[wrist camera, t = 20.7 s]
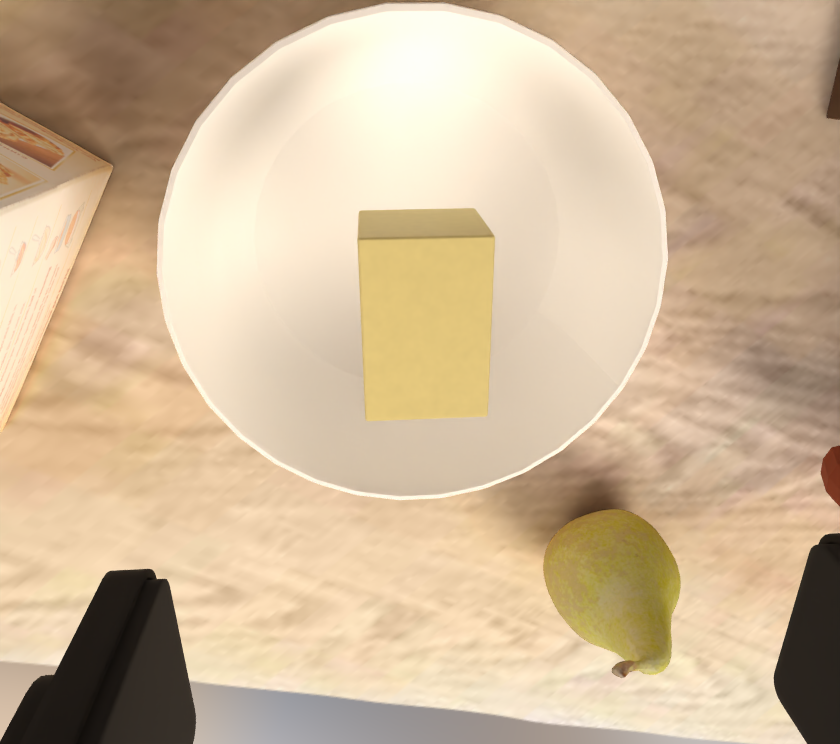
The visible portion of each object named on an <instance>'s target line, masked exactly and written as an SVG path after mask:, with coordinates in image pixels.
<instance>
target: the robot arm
mask: <svg viewBox="0 0 840 744" xmlns="http://www.w3.org/2000/svg"><path fill="white" fill-rule="evenodd" d="M774 686H775V690H776V693H777V696H778V698H779V700H780V702H781V703H782V705H783V707H784V708H785V710H786V711H787V713H788V714H789V716H790V718H791V719H792V721H793V722H794V724H795V725H796V727H797V728H798V730H799V732H800V733H801V735H802V736H803V738H804V739H805V741H806V742H807V744H840V533H837V534H827V535H825V536H824V537H822V538H821V540H820V542H819V544H818V545H815V546H813V547H812V548H811V550H810V553H809V556H808V559H807V563H806V566H805V570H804V573H803V577H802V580H801V583H800V587H799V590H798V594H797V597H796V601H795V604H794V607H793V611H792V614H791V618H790V621H789V625H788V628H787V632H786V635H785V638H784V642H783V645H782V649H781V652H780V656H779V659H778V662H777V666H776V669H775V673H774ZM195 725H196V714H195V708H194V703H193V698H192V693H191V688H190V683H189V678H188V673H187V668H186V663H185V659H184V654H183V649H182V644H181V639H180V634H179V629H178V624H177V619H176V614H175V610H174V605H173V600H172V595H171V590H170V586H169V582H168V581H167V579H157V578H156V575H155V573H154V571H153V570H152V569H139V570H119V571H109V572H108V573H106V575H105V576H104V578H103V579H102V581H101V583H100V585H99V587H98V589H97V591H96V593H95V595H94V597H93V599H92V601H91V603H90V605H89V607H88V609H87V611H86V613H85V615H84V617H83V619H82V621H81V623H80V625H79V627H78V629H77V631H76V633H75V635H74V637H73V639H72V641H71V643H70V645H69V647H68V649H67V651H66V653H65V655H64V657H63V659H62V661H61V663H60V665H59V667H58V668H57V670H56V673H55V674H54V675H45V676H41V677H39V678H38V679H37V680H36V681H34V682H33V684H32V685H31V687H30V688H29V690H28V691H27V693H26V694H25V696H24V698H23V700H22V702H21V703H20V705H19V707H18V709H17V711H16V713H15V715H14V717H13V718H12V720H11V722H10V724H9V726H8V728H7V730H6V732H5V734H4V736H3V737H2V739H1V741H0V744H193V741H194V736H195V727H196V726H195Z"/></svg>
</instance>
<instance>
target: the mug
mask: <svg viewBox="0 0 840 744" xmlns="http://www.w3.org/2000/svg"><path fill="white" fill-rule="evenodd" d="M821 476H822V479H823V482H824V486H825V489H826V492H827V493H828V494H829V495H830V497H831V498H832V499H833V500H834V501H835V502H836V503H837V504H838V505H839V506H840V446H836V447H832V448H831V449H830V450H829V452H828V453H827V454H826V456H825V457H824V458H823V462H822V468H821Z"/></svg>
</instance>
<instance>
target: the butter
mask: <svg viewBox="0 0 840 744" xmlns="http://www.w3.org/2000/svg"><path fill="white" fill-rule="evenodd" d="M357 243H358V266H359V289H360V311H361V334H362V357H363V379H364V402H365V419H366V421H386V420H412V419H437V418H462V417H486V416H487V415H488V400H489V376H490V351H491V327H492V302H493V278H494V253H495V236H494V234H493V233H492V231H491V230H490V229H489V227H488V226H487V224H486V223H485V222H484V220H483V219H482V218H481V216H480V215H479V213H478V212H477V211H476V209H474V208H453V209H404V210H361V211H359V215H358V238H357Z"/></svg>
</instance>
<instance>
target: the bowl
mask: <svg viewBox="0 0 840 744" xmlns="http://www.w3.org/2000/svg"><path fill="white" fill-rule="evenodd" d="M453 208H474V209H476V211H477V212H478V213H479V215H480V216H481V218H482V219H483V220H484V222H485V223H486V224H487V226H488V227H489V229H490V230H491V231H492V233H493V234H494V236H495V253H494V278H493V302H492V327H491V351H490V376H489V400H488V415H487V416H486V417H462V418H437V419H412V420H386V421H366V419H365V402H364V379H363V357H362V334H361V311H360V289H359V266H358V243H357V238H358V215H359V211H361V210H404V209H453ZM667 262H668V249H667V230H666V210H665V206H664V202H663V199H662V195H661V191H660V187H659V183H658V180H657V176H656V172H655V168H654V164H653V161H652V159H651V157H650V155H649V153H648V151H647V149H646V147H645V145H644V143H643V141H642V139H641V137H640V135H639V133H638V131H637V129H636V127H635V126H634V124H633V122H632V120H631V118H630V116H629V114H628V113H627V112H626V110H625V109H624V108H623V107H622V106H621V104H620V103H619V102H618V101H617V99H616V98H615V97H614V96H613V95H612V93H611V92H610V91H609V90H608V88H607V87H606V86H605V85H604V84H603V82H602V81H601V80H600V79H599V77H598V76H597V75H596V74H595V73H594V72H593V71H592V70H590V69H589V68H588V67H587V66H585V65H584V64H583V63H582V62H580V61H579V60H578V59H576V58H575V57H574V56H573V55H571V54H570V53H569V52H568V51H566V50H565V49H564V48H562V47H561V46H560V45H559V44H557V43H556V42H555V41H553V40H552V39H551V38H548V37H546V36H544V35H542V34H540V33H538V32H536V31H534V30H532V29H529V28H527V27H525V26H523V25H521V24H519V23H517V22H515V21H513V20H510V19H508V18H506V17H504V16H502V15H499V14H495V13H490V12H486V11H481V10H477V9H472V8H468V7H463V6H459V5H454V4H450V3H445V2H407V3H382V4H378V5H373V6H369V7H365V8H360V9H356V10H352V11H347V12H343V13H339V14H334V15H330V16H327V17H325V18H323V19H321V20H319V21H317V22H315V23H313V24H311V25H309V26H306V27H304V28H302V29H300V30H298V31H296V32H294V33H292V34H290V35H288V36H286V37H284V38H282V39H280V40H277V41H276V42H274V43H273V44H272V45H271V46H269V47H268V48H267V49H266V50H264V51H263V52H262V53H260V54H259V55H258V56H257V57H255V58H254V59H253V60H252V61H250V62H249V63H248V64H247V65H245V66H244V67H243V68H242V69H240V70H239V71H238V72H237V73H235V74H234V75H233V76H231V78H230V79H229V80H228V81H227V82H226V84H225V85H224V86H223V87H222V89H221V90H220V91H219V92H218V94H217V95H216V96H215V97H214V99H213V100H212V101H211V102H210V103H209V105H208V106H207V107H206V108H205V110H204V111H203V112H202V113H201V115H200V116H199V117H198V118H197V120H196V121H195V123H194V125H193V127H192V129H191V131H190V133H189V135H188V137H187V139H186V141H185V143H184V145H183V147H182V149H181V151H180V153H179V155H178V157H177V159H176V161H175V163H174V165H173V167H172V169H171V173H170V177H169V181H168V185H167V189H166V193H165V197H164V201H163V205H162V209H161V213H160V217H159V221H158V248H157V278H158V283H159V289H160V295H161V300H162V306H163V312H164V318H165V322H166V325H167V327H168V330H169V332H170V335H171V337H172V340H173V342H174V345H175V347H176V350H177V353H178V355H179V358H180V360H181V363H182V365H183V367H184V368H185V370H186V372H187V373H188V375H189V376H190V378H191V379H192V381H193V382H194V384H195V386H196V387H197V389H198V390H199V392H200V393H201V395H202V396H203V398H204V400H205V401H206V403H207V404H208V405H209V406H210V408H211V409H212V410H213V411H214V412H215V413H216V414H217V415H218V416H219V417H220V418H221V419H222V420H223V421H224V422H225V423H226V424H227V425H228V426H229V428H230V429H231V430H232V431H233V432H234V433H235V434H236V435H237V436H238V437H239V438H240V439H242V440H243V441H244V442H246V443H247V444H249V445H250V446H251V447H253V448H254V449H255V450H257V451H258V452H260V453H261V454H262V455H264V456H265V457H266V458H268V459H269V460H271V461H272V462H273V463H275V464H277V465H279V466H281V467H283V468H285V469H287V470H289V471H291V472H293V473H295V474H297V475H299V476H301V477H303V478H305V479H307V480H309V481H312V482H314V483H317V484H320V485H323V486H327V487H330V488H334V489H337V490H341V491H344V492H348V493H351V494H354V495H361V496H369V497H378V498H387V499H395V500H407V499H428V498H443V497H448V496H453V495H457V494H462V493H467V492H471V491H476V490H481V489H485V488H487V487H490V486H492V485H495V484H497V483H500V482H502V481H505V480H508V479H510V478H513V477H515V476H518V475H520V474H523V473H525V472H527V471H528V470H530V469H532V468H533V467H535V466H537V465H538V464H540V463H542V462H543V461H545V460H547V459H548V458H550V457H552V456H553V455H555V454H557V453H559V452H560V451H562V450H563V449H564V448H565V447H566V446H568V445H569V444H570V443H571V442H572V441H573V440H575V439H576V438H577V437H578V436H579V435H581V434H582V433H583V432H584V431H585V430H586V429H588V428H589V427H590V426H591V425H592V424H593V423H595V422H596V420H597V419H598V418H599V417H600V416H601V414H602V413H603V412H604V411H605V410H606V408H607V407H608V406H609V405H610V404H611V402H612V401H613V400H614V399H615V398H616V396H617V395H618V394H619V393H620V392H621V390H622V389H623V388H624V386H625V384H626V383H627V381H628V379H629V377H630V376H631V374H632V372H633V370H634V369H635V367H636V365H637V363H638V362H639V360H640V358H641V356H642V355H643V353H644V351H645V349H646V347H647V344H648V341H649V338H650V336H651V333H652V330H653V327H654V324H655V321H656V318H657V316H658V313H659V310H660V307H661V303H662V296H663V289H664V282H665V275H666V269H667Z"/></svg>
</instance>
